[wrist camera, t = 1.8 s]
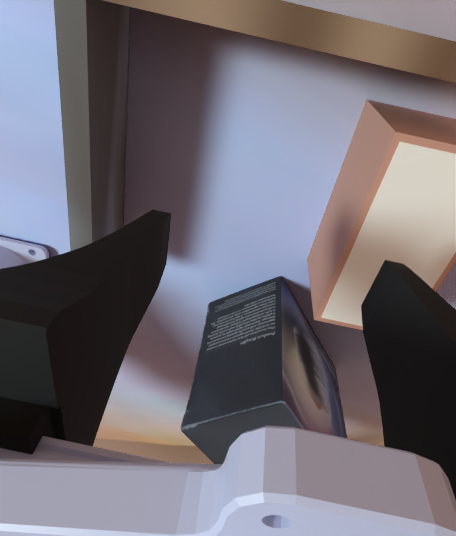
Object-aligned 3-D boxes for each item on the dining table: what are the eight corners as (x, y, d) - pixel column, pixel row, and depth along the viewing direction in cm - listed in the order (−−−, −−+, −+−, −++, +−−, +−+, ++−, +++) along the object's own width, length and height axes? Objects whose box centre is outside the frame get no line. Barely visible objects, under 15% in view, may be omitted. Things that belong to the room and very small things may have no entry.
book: (307, 258, 25) (314, 320, 20) (366, 99, 19) (396, 132, 14) (380, 273, 25) (405, 340, 20) (461, 120, 19) (523, 160, 14)
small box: (341, 367, 30) (366, 509, 22) (269, 386, 33) (265, 521, 24) (285, 271, 26) (288, 405, 17) (205, 302, 28) (173, 433, 20)
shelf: (105, 229, 25) (72, 273, 21) (104, -41, 17) (50, -55, 13) (351, 284, 26) (365, 337, 22) (469, 45, 17) (527, 58, 13)
